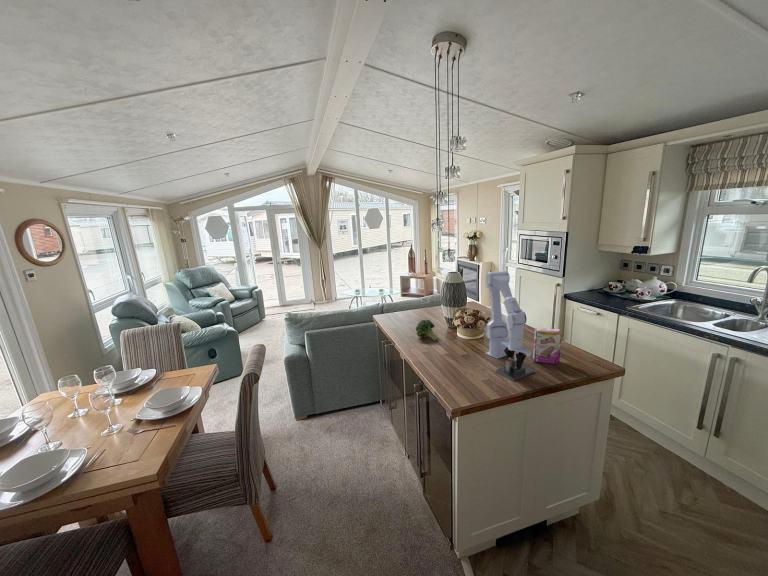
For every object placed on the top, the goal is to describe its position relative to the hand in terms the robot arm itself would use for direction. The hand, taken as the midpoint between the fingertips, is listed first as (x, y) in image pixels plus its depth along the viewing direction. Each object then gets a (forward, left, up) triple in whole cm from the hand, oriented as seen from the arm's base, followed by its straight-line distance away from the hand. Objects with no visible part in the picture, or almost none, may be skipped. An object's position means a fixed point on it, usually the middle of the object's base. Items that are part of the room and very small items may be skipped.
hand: (515, 365), depth 143 cm
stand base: (0, 0, -3) cm, 3 cm away
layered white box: (0, 0, -2) cm, 2 cm away
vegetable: (+7, -58, -4) cm, 59 cm away
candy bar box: (-21, +1, -4) cm, 21 cm away
